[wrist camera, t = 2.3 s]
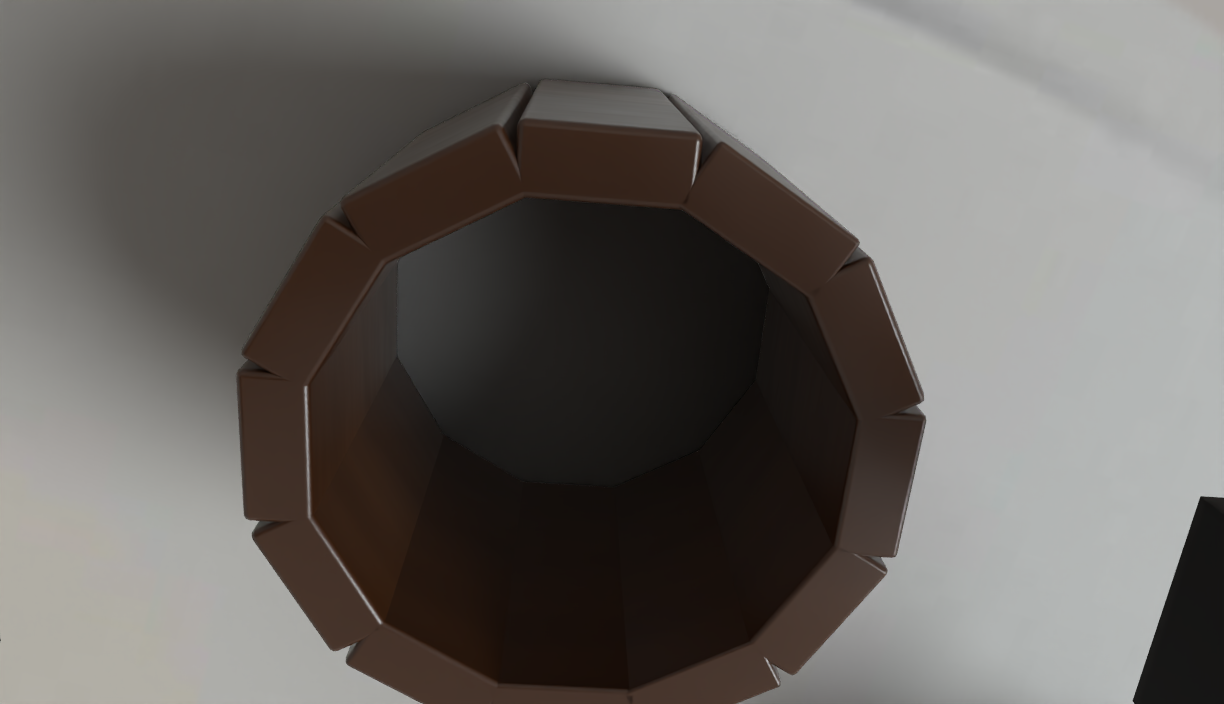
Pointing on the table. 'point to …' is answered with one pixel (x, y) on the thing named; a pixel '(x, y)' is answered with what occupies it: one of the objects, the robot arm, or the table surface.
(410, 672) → the brown wooden hollow cylinder
